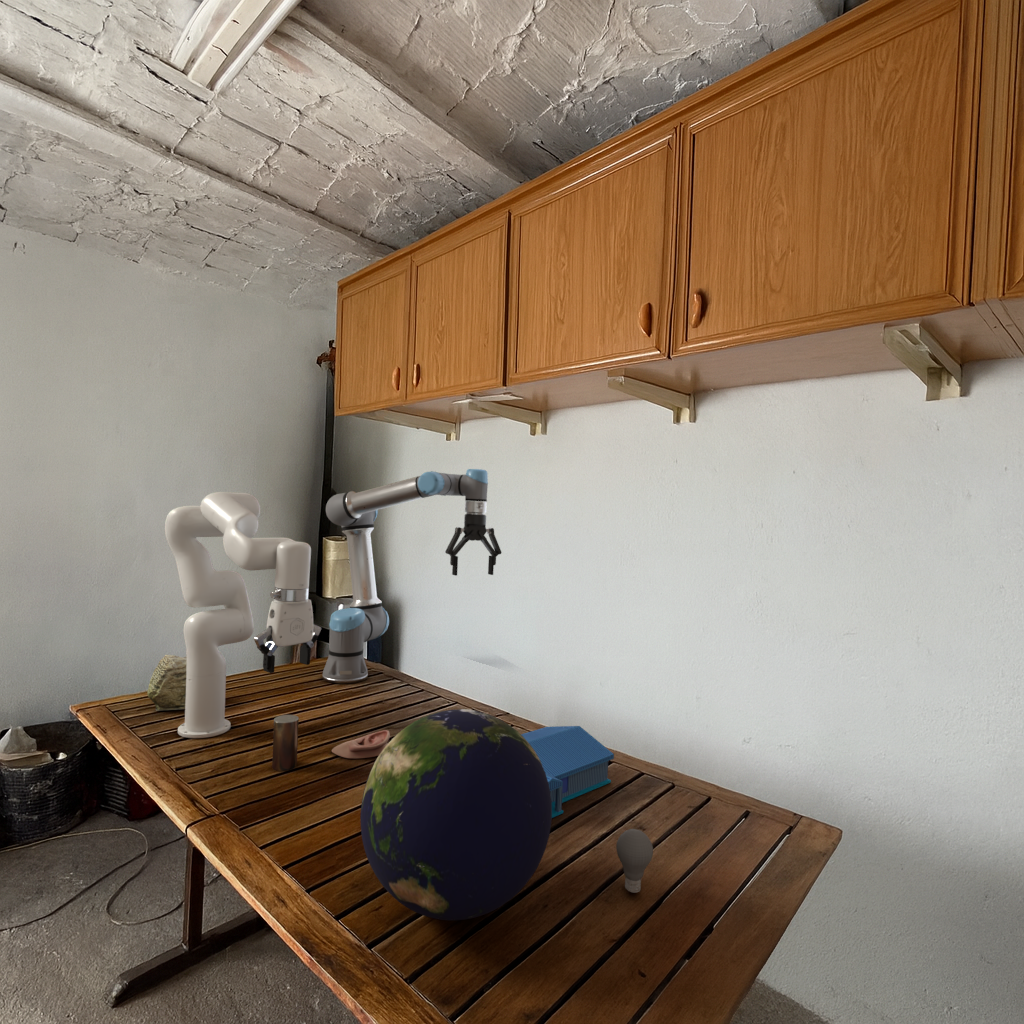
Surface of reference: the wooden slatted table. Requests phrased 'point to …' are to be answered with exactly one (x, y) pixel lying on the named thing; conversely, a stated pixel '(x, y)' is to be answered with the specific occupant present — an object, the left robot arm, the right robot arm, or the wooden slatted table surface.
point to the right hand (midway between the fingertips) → (472, 574)
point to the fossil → (169, 683)
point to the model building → (570, 762)
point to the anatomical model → (363, 746)
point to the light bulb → (634, 857)
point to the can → (285, 742)
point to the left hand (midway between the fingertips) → (287, 667)
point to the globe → (456, 814)
